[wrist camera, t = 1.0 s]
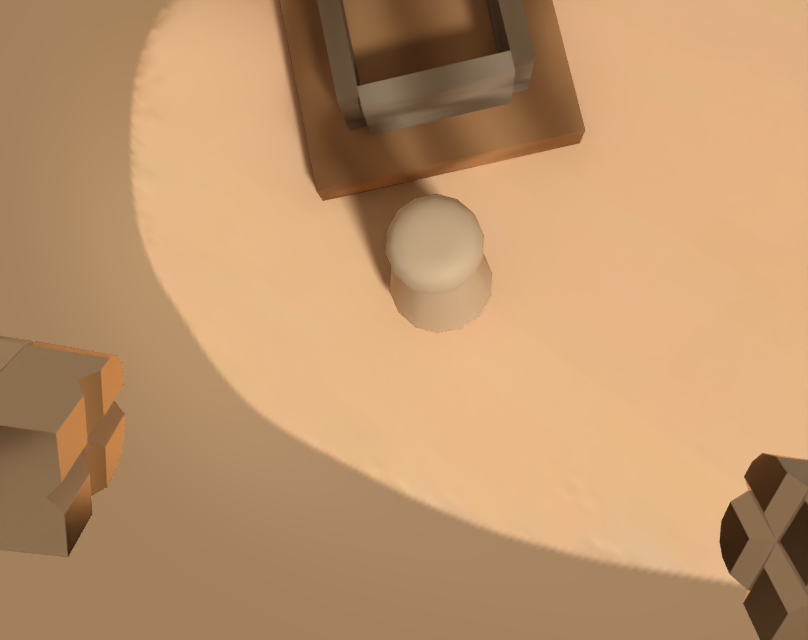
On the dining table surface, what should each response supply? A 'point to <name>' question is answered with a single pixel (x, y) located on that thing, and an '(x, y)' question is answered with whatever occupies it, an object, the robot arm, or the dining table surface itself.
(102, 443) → the robot arm
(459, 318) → the beige round peg
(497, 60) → the walnut socket board
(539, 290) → the dining table surface
